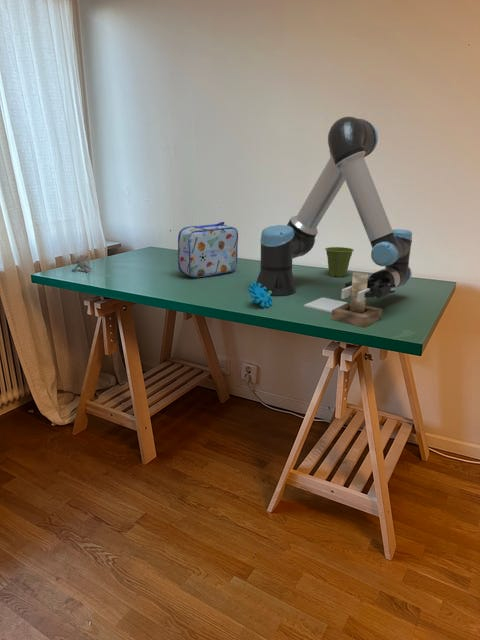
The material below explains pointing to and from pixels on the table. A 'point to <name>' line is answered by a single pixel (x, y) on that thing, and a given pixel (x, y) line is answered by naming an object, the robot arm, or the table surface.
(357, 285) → the dowel
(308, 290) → the table surface
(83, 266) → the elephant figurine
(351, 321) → the pocket block
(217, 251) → the lunch box
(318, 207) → the robot arm
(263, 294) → the gear
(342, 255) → the plant pot
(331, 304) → the pad
